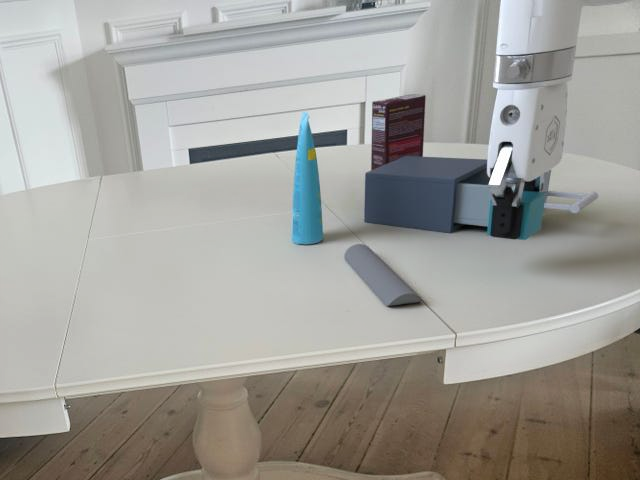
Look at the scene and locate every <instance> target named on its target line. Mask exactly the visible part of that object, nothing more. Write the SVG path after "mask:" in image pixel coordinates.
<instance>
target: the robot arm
mask: <svg viewBox="0 0 640 480" xmlns="http://www.w3.org/2000/svg"><path fill="white" fill-rule="evenodd" d="M633 1H634V0H500V3H499V15H498V23H497V24H498V25H497V36H496V37H497V38H496V49H495V58H494V71H493V80H492V88H494V89H497V92H496V97H495V102H494V107H493V112H492V119H491V123H490V131H489V139H488V147H487V175H488V176H489V178H491V179H490V182H489V186H488V188H489V190H490V191H491V192H492V195H493V199H492V205H493V210H492V220H491V231H490V235H491V236H490V237H491V238H492V237H493V238H498V239H507V240H518V239H517V238H519V237H520V231H521V223H522V215H523V206H524V205H520V203H521V198H522V193H523V191H532V192H542V190H543V187H544V174H545V173H546V172H547V171H549V170H552V169H554V168H555V167H556V166H558V164H560V163H561V161H562V158H563V154H564V145H565V135H566V134H565V133H566V123H567V112H568V90H569V89H568V83H569V82H570V81H572V80H573V79H572V77H573V72H574V64H575V57H576V52H577V43H578V36H579V28H580V22H581V16H582V15H581V14H582V9H583V8H584V7H601V6H612V5H613V6H614V5H620V4H625V3H629V2H633ZM508 173H516V178H507V176H508ZM507 183H509V184H516V185H515V190H514V192H513V190H512V188H511V187H508V186H507Z"/></svg>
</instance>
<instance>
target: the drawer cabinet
mask: <svg viewBox="0 0 640 480" xmlns="http://www.w3.org/2000/svg"><path fill="white" fill-rule="evenodd" d="M484 169H487V159H486V158H485V159H483V158H463V157H462V158H461V157H443V156H442V157H439V156H423V157H420V156H405V157H402V158H400V159H397V160H395V161H393V162H390V163H388V164H385V165H383V166H381V167H378V168H376V169H374V170H371V169H370V170H368V171H366V172H365V174H364V211H363V212H364V216H363V217H364V218H363V221H364V223H370V224H378V225H387V226H393V227H401V228H407V229H416V230H424V231H430V232H431V231H432V232H438V233H439V232H440V233H446V234H451V233H453V232H455V231H456V230H458V229H460V228H462V227H463V226H465V225H466V224H461V223H454V212H455V201H456V190H457V183H458V182H460V181H462V180H464V179H466V178H468V177H470V176H472V175H474V174H476V173H478V172H480V171H482V170H484Z"/></svg>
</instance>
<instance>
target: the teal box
mask: <svg viewBox="0 0 640 480" xmlns="http://www.w3.org/2000/svg"><path fill="white" fill-rule="evenodd" d="M513 192H514V190H513ZM545 195H546V193H545V192H532V191H523V193H522V198H521V203H520V205H524V206H523V215H522V223H521V231H520V237H519V238H517V239H516V240H522V241H526V240H528V239H529V238H530V237H532V236H533V235H535V234H536V233H537V232H539V231H540V230H541V229H542V223H543V217H544V213H543V210H544V203H545ZM492 210H493V205H492V199H491V200H490V210H489V220H488V227H487V233H486V236H488V237H489V236H490V237H492V236H491V235H490V231H491V220H492Z"/></svg>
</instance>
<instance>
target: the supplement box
mask: <svg viewBox="0 0 640 480" xmlns="http://www.w3.org/2000/svg"><path fill="white" fill-rule="evenodd" d="M426 96H427V95H426V94H416V93H415V94H405V95H401V96H396V97H391V98H386V99H380V100H375V101H374V100H373V101H371V107H372V108H371V109H372V110H371V153H370V154H371V158H370V159H371V162H370V165H371V166H370V171H371V170H374V169H376V168H378V167H381V166H383V165H385V164H388V163H390V162H393V161H395V160H397V159H400V158H402V157H405V156H420V157H424V139H425V116H426V100H427V99H426Z"/></svg>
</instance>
